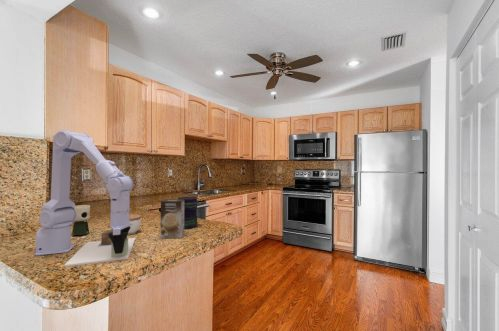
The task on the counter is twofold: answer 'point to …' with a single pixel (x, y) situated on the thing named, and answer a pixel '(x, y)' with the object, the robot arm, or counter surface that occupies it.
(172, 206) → the coffee box
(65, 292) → the counter surface
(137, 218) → the lidded jar
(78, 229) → the character mug
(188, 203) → the storage jar
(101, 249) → the board
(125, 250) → the sage block
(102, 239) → the walnut block
